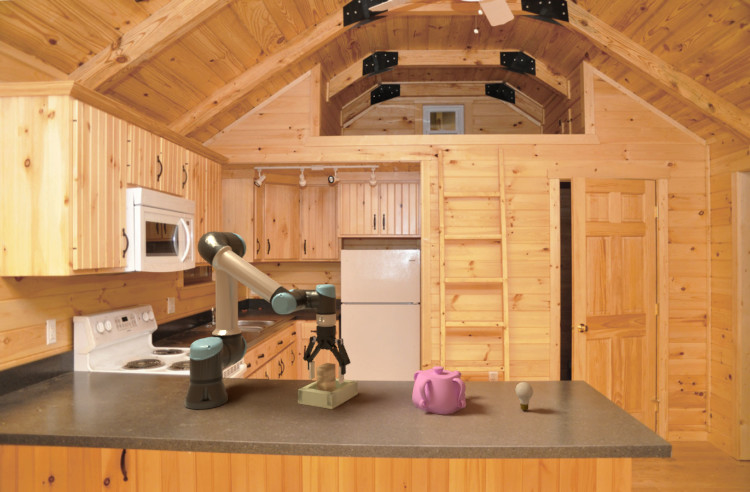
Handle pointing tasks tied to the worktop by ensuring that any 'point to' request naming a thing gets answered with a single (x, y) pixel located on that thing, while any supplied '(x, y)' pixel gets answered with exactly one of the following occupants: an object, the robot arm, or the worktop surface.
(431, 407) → the pink multi-handled pot
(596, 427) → the worktop surface
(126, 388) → the worktop surface
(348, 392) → the well block
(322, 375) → the wooden stepped block
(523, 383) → the light bulb
